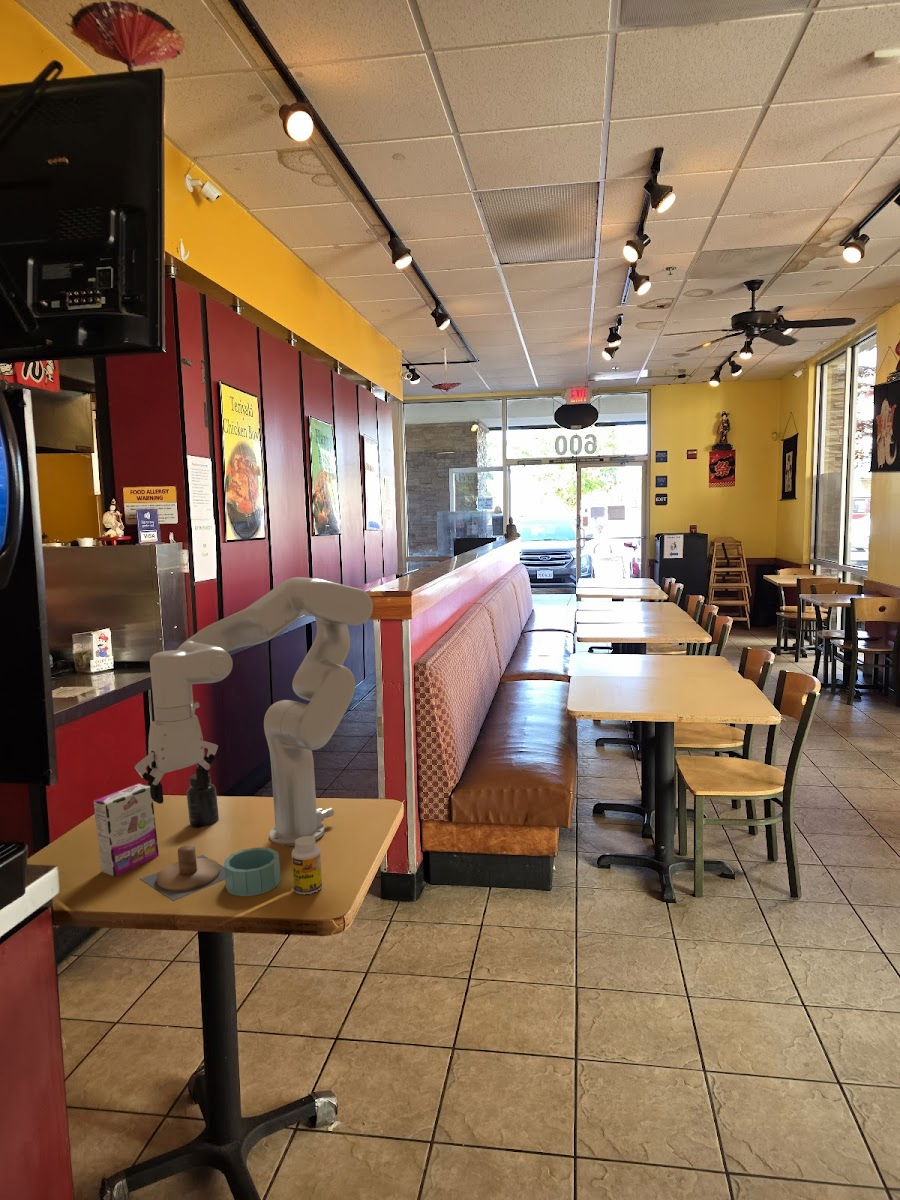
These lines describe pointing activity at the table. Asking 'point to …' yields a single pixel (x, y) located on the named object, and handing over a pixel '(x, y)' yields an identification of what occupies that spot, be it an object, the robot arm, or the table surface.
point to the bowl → (252, 871)
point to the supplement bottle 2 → (306, 866)
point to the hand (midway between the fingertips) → (180, 794)
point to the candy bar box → (126, 829)
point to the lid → (188, 871)
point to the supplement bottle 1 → (202, 804)
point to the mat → (179, 894)
